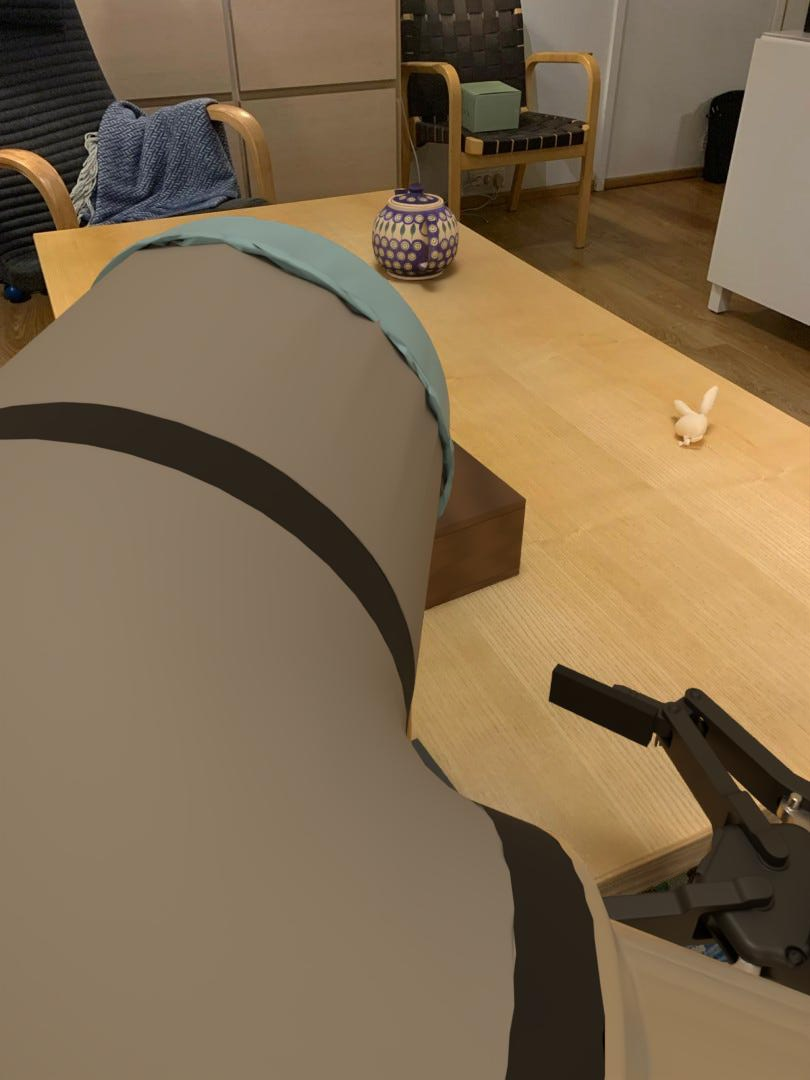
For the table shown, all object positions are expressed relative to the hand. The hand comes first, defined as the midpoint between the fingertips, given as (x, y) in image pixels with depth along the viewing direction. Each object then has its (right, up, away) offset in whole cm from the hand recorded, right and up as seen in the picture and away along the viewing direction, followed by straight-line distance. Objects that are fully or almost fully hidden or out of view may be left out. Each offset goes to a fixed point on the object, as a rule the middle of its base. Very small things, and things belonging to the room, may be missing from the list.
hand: (497, 753), depth 50 cm
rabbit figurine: (+30, +25, +58) cm, 70 cm away
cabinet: (-4, +10, +38) cm, 39 cm away
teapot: (-3, +59, +105) cm, 121 cm away
